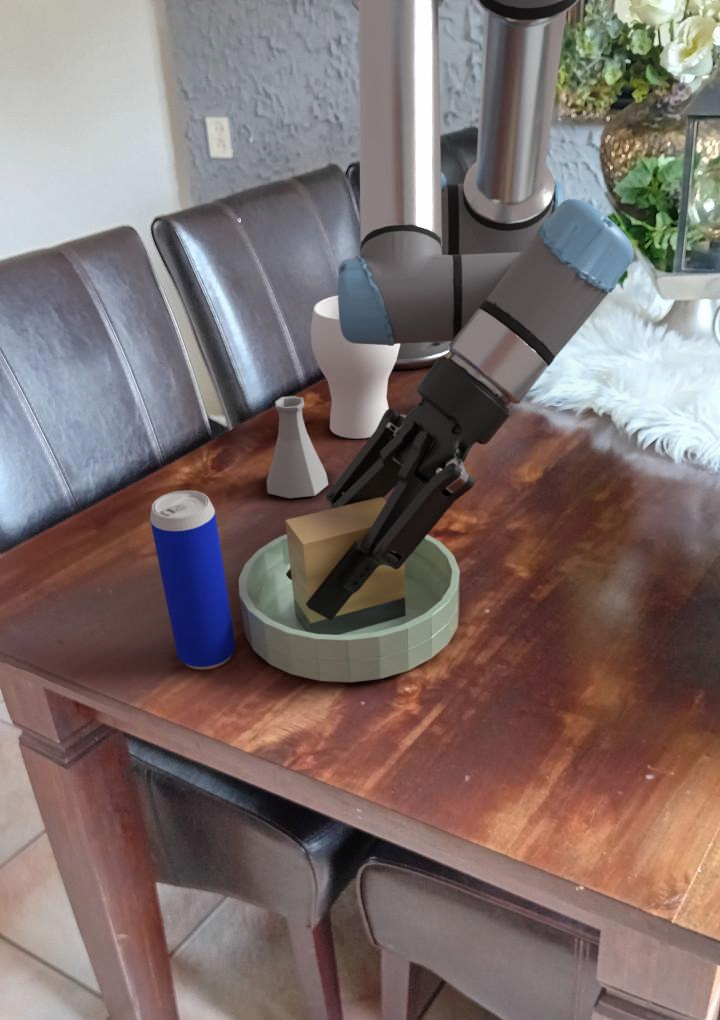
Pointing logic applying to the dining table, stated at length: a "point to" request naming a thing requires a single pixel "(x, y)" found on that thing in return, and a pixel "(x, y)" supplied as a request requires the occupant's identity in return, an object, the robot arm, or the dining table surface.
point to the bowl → (359, 650)
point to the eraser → (319, 551)
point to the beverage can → (193, 578)
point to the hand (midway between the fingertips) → (308, 596)
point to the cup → (351, 373)
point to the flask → (294, 455)
